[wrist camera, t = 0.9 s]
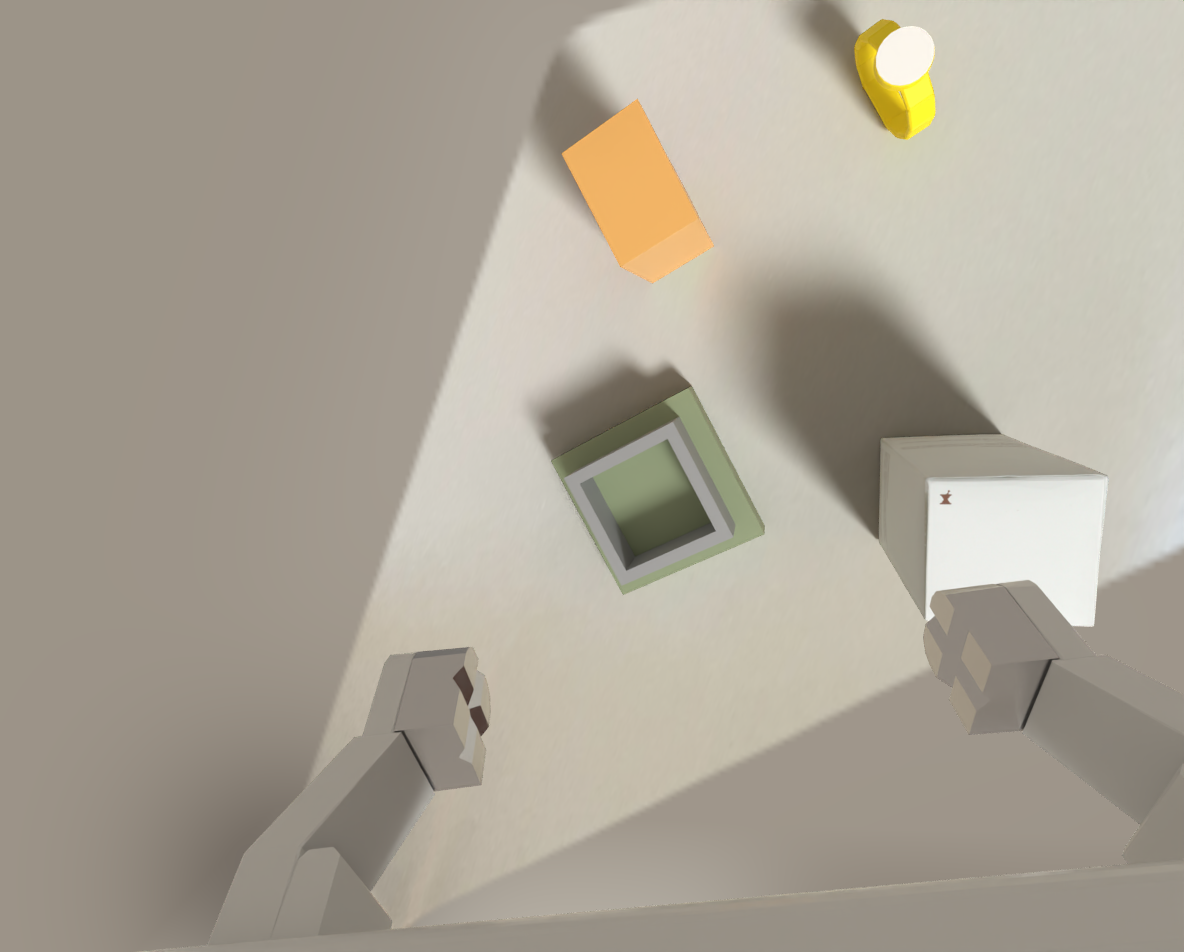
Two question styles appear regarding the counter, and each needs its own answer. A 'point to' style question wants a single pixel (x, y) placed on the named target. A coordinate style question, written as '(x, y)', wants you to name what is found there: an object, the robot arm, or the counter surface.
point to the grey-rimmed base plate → (659, 492)
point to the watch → (897, 75)
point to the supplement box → (991, 518)
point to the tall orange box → (637, 196)
